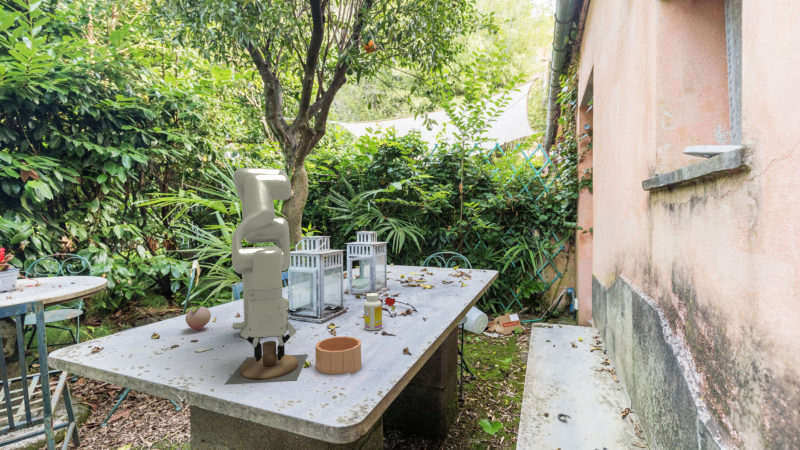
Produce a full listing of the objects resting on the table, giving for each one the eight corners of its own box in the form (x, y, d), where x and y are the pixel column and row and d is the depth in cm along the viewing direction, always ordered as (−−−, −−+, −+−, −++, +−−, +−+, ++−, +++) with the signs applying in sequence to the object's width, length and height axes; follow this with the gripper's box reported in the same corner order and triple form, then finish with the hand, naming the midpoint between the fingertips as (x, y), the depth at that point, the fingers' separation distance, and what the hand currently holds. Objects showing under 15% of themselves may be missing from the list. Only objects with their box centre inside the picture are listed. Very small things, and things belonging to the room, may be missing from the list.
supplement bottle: (383, 325, 142) (382, 292, 142) (380, 331, 136) (380, 296, 135) (366, 325, 143) (365, 292, 143) (362, 331, 136) (362, 296, 136)
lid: (232, 381, 95) (231, 354, 95) (250, 358, 110) (249, 335, 110) (292, 378, 96) (291, 351, 96) (302, 356, 111) (301, 333, 111)
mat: (223, 386, 93) (223, 384, 93) (247, 359, 111) (247, 357, 111) (296, 382, 95) (296, 380, 95) (308, 356, 113) (308, 354, 113)
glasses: (394, 305, 175) (394, 295, 175) (417, 312, 162) (417, 301, 162) (369, 311, 166) (369, 300, 166) (392, 318, 153) (392, 306, 153)
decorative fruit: (209, 332, 138) (208, 305, 138) (184, 335, 135) (183, 308, 135) (212, 325, 147) (211, 300, 147) (188, 328, 144) (187, 302, 144)
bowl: (313, 377, 98) (312, 352, 98) (319, 359, 110) (319, 337, 110) (360, 374, 99) (360, 350, 99) (361, 357, 111) (361, 335, 111)
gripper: (230, 298, 98) (233, 366, 99) (296, 296, 99) (298, 363, 100) (240, 292, 106) (242, 355, 106) (301, 290, 107) (303, 352, 107)
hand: (269, 358), depth 103 cm, fingers open, 5 cm apart
